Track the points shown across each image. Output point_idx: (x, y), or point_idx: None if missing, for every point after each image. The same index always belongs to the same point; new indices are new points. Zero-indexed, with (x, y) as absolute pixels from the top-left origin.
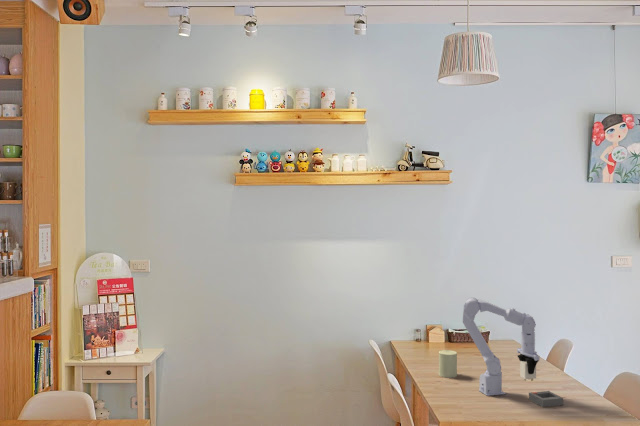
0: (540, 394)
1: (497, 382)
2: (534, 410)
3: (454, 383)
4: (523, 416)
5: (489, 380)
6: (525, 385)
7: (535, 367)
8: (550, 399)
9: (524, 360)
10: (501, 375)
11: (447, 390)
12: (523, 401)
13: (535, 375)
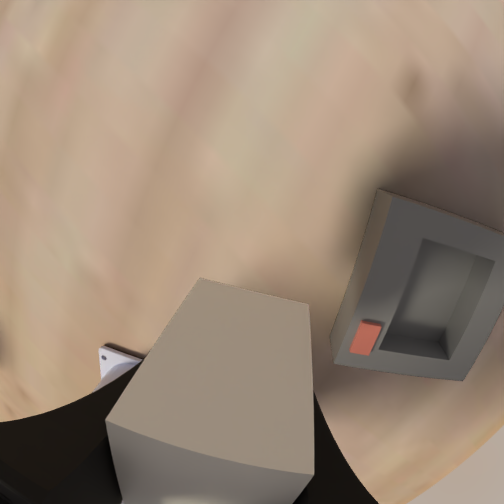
0: (394, 306)
1: None
2: (439, 410)
3: (27, 400)
4: (434, 464)
5: None
6: (93, 130)
7: (309, 409)
8: (489, 333)
9: (112, 490)
10: None
11: None
12: (333, 380)
13: (306, 329)
